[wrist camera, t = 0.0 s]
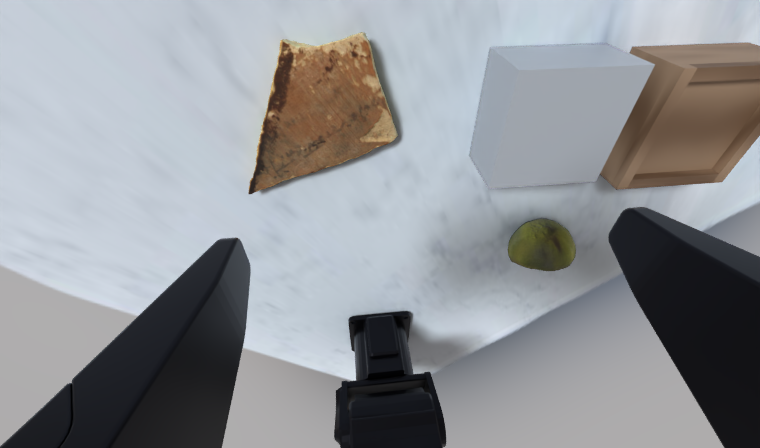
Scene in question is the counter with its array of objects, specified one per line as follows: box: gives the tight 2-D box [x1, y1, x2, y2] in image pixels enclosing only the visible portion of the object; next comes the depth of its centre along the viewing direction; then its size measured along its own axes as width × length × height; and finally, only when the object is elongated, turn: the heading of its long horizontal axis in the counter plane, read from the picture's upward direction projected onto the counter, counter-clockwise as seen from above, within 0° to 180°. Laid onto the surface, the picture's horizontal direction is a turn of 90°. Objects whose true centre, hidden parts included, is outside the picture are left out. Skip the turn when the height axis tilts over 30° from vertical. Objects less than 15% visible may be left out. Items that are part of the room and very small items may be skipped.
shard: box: [248, 32, 398, 194], centre depth 20 cm, size 11×8×2 cm
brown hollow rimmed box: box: [600, 43, 760, 190], centre depth 21 cm, size 8×8×4 cm
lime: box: [508, 219, 576, 271], centre depth 28 cm, size 4×5×5 cm
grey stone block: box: [469, 43, 655, 189], centre depth 20 cm, size 7×7×4 cm
